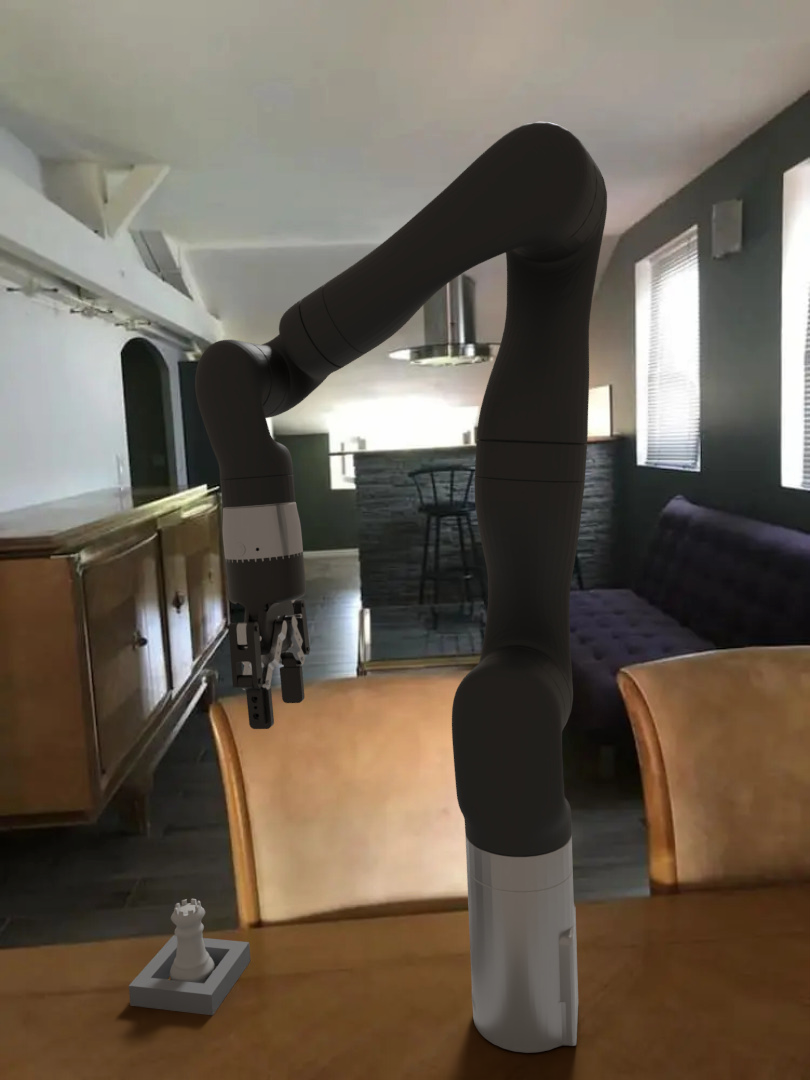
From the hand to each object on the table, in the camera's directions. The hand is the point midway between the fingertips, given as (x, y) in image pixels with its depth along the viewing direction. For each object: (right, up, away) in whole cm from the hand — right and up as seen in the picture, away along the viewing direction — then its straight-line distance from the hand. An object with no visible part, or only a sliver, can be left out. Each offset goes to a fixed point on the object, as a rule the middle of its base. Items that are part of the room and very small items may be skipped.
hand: (278, 714), depth 82 cm
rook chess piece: (-8, -27, 0) cm, 28 cm away
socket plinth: (-8, -26, 0) cm, 28 cm away
